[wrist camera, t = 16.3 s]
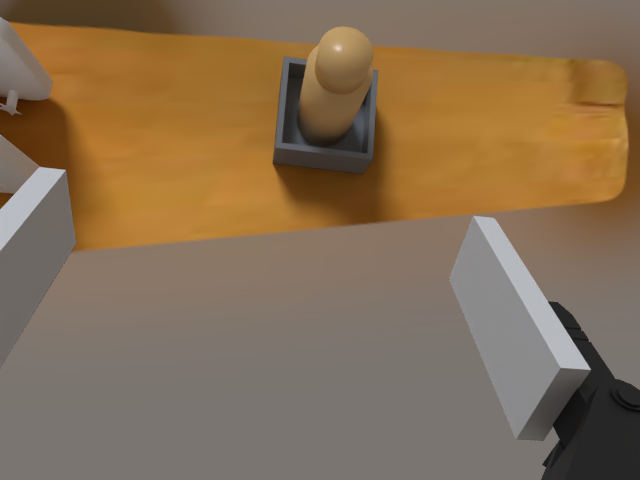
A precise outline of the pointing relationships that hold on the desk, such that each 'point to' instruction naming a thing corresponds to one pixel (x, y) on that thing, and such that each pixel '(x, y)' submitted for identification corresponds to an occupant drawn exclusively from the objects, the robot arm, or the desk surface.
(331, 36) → the beige rounded figurine
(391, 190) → the desk surface
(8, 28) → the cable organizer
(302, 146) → the grey open square box
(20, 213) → the robot arm
